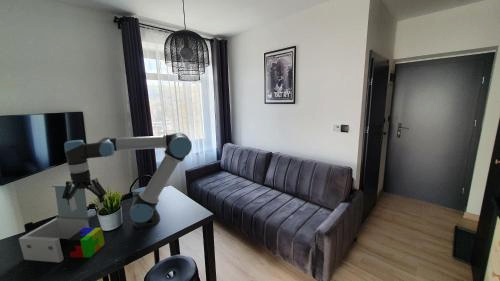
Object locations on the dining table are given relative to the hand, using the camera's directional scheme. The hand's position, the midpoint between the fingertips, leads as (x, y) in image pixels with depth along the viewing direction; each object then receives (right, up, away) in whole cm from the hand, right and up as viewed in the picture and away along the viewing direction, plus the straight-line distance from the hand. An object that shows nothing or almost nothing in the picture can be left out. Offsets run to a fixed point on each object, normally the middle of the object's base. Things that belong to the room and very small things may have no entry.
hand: (87, 209), depth 106 cm
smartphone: (-28, -16, +39) cm, 51 cm away
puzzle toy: (0, -22, +1) cm, 23 cm away
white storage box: (-16, -22, +3) cm, 28 cm away
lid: (-16, +1, +6) cm, 17 cm away
